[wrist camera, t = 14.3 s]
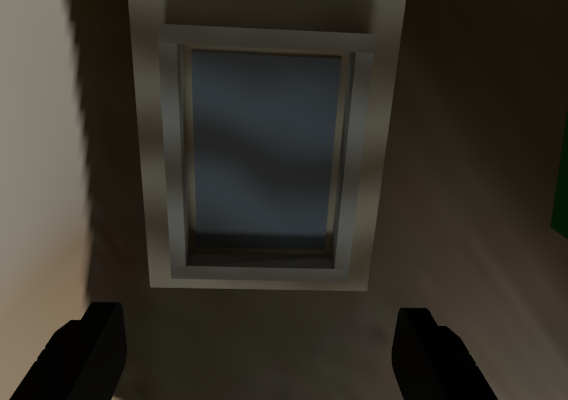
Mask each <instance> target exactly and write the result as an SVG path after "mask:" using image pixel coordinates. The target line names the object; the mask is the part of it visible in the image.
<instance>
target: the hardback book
mask: <svg viewBox="0 0 568 400" xmlns="http://www.w3.org/2000/svg"><path fill="white" fill-rule="evenodd" d="M551 228H552V229H554V230H555V231H557V232H558V233H559V234H561V235H562V236H564V237H565V238H566V239H568V111H567V118H566V125H565V131H564V138H563V145H562V152H561V159H560V166H559V173H558V179H557V186H556V193H555V200H554V207H553V214H552V220H551Z"/></svg>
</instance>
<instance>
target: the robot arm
mask: <svg viewBox="0 0 568 400" xmlns="http://www.w3.org/2000/svg"><path fill="white" fill-rule="evenodd" d="M126 355H127V343H126V334H125V325H124V316H123V308H122V305H121V303H118V302H92V303H91V304H90V306H89V307H88V309H87V310H86V312H85V314H84V315H83V317H82V319H81V320H70V321H69V322H68V323H66V324H65V325H64V326H62V327H61V328H60V329H58V330H57V331H56V332H55V333H54V334H53V336H52V337H51V339H50V340H49V342H48V343H47V345H46V346H45V349H44V350H43V351H42V352H41V353H40V355H39V356H38V359H37V361H35V363H34V364H33V365H32V367H31V368H30V370H29V371H28V373H27V374H26V376H25V377H24V379H23V380H22V382H21V383H20V385H19V386H18V388H17V389H16V391H15V392H14V393H13V395H12V397H11V398H10V399H9V400H111V399H112V396H113V394H114V391H115V389H116V386H117V384H118V382H119V379H120V377H121V374H122V372H123V369H124V366H125V362H126ZM392 366H393V371H394V374H395V377H396V380H397V382H398V385H399V388H400V391H401V393H402V396H403V399H404V400H498V399H497V397H496V396H495V394H494V392H493V391H492V389H491V387H490V386H489V384H488V382H487V381H486V379H485V378H484V376H483V374H482V373H481V371H480V369H479V368H478V366H476V363H475V361H474V359H473V358H472V356H471V355H469V351H468V350H467V348H466V346H465V345H464V343H463V341H462V340H461V338H460V337H459V336H457V335H456V334H455V333H454V332H453V331H451V330H450V329H449V328H448V327H447V326H437V324H436V322H435V320H434V318H433V317H432V315H431V313H430V311H429V310H428V309H427V308H400V310H399V312H398V317H397V323H396V329H395V334H394V340H393V346H392Z"/></svg>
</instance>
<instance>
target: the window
mask: <svg viewBox="0 0 568 400" xmlns="http://www.w3.org/2000/svg"><path fill="white" fill-rule="evenodd" d="M405 2H406V0H128V4H129V17H130V30H131V43H132V56H133V69H134V82H135V95H136V108H137V121H138V134H139V147H140V160H141V173H142V186H143V199H144V212H145V225H146V238H147V251H148V264H149V277H150V287H166V288H223V289H280V290H336V291H367V286H368V278H369V271H370V263H371V256H372V248H373V241H374V234H375V226H376V219H377V211H378V204H379V196H380V189H381V181H382V174H383V166H384V159H385V151H386V144H387V136H388V129H389V122H390V114H391V107H392V99H393V92H394V84H395V77H396V69H397V62H398V54H399V47H400V39H401V32H402V24H403V17H404V10H405Z"/></svg>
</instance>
